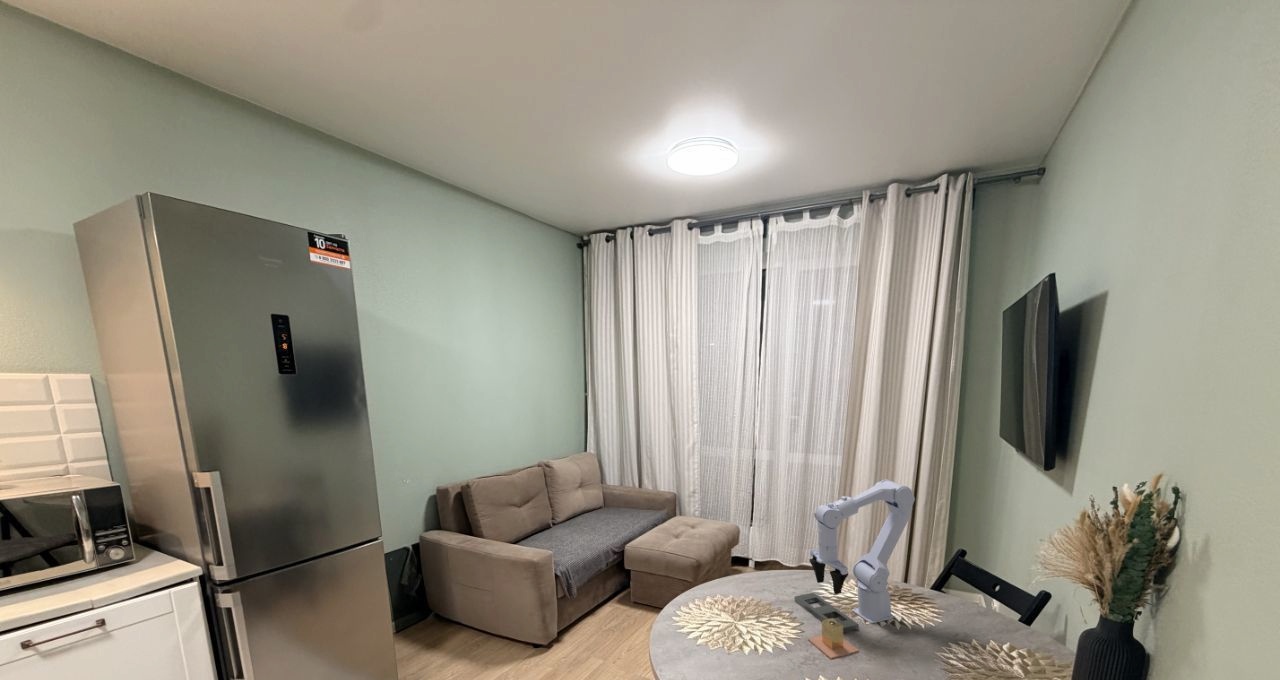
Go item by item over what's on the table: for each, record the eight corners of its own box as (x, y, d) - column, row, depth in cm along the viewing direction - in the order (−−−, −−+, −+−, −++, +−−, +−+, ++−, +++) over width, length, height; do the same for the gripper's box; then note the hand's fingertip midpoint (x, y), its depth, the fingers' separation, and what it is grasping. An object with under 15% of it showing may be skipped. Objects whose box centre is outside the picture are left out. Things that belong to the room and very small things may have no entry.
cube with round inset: (833, 639, 130) (832, 617, 131) (843, 647, 127) (843, 625, 127) (822, 641, 129) (821, 620, 130) (832, 650, 125) (831, 627, 126)
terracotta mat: (835, 633, 134) (835, 632, 134) (858, 651, 125) (858, 650, 125) (808, 640, 131) (808, 638, 131) (830, 659, 122) (830, 657, 122)
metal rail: (813, 597, 155) (813, 592, 155) (858, 629, 136) (858, 624, 136) (794, 600, 152) (794, 596, 152) (837, 634, 133) (837, 629, 134)
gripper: (802, 537, 149) (803, 579, 148) (834, 555, 136) (835, 600, 135) (819, 535, 151) (820, 576, 151) (852, 552, 138) (853, 597, 137)
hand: (828, 587), depth 143 cm, fingers open, 7 cm apart
